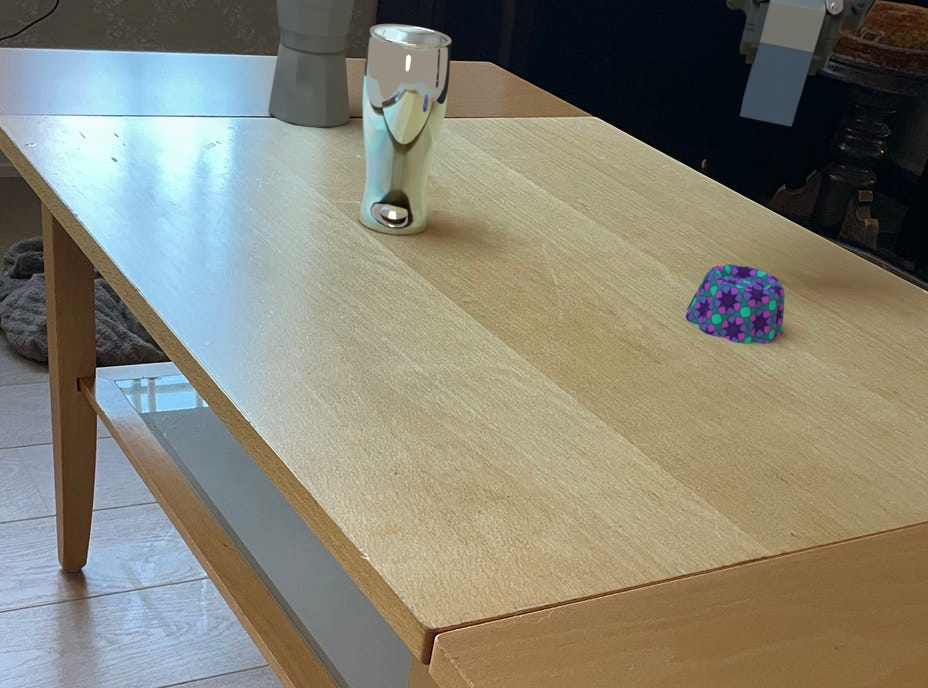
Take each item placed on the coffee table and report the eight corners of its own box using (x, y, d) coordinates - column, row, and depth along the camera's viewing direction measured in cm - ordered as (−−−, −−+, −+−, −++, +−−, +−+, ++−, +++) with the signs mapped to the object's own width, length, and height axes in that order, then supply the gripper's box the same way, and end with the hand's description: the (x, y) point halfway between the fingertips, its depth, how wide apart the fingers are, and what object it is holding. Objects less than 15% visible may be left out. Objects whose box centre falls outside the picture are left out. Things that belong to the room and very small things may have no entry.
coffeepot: (374, 133, 121) (390, -65, 110) (290, 134, 117) (298, -71, 106) (319, 91, 132) (328, -94, 120) (239, 90, 128) (242, -101, 116)
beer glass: (339, 209, 102) (352, 21, 93) (410, 206, 105) (429, 24, 96) (373, 239, 98) (390, 44, 88) (445, 235, 101) (469, 46, 91)
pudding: (666, 298, 96) (682, 235, 92) (810, 334, 93) (832, 271, 90) (637, 351, 86) (653, 283, 83) (795, 393, 84) (819, 324, 81)
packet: (792, 109, 93) (825, -2, 88) (791, 126, 89) (826, 10, 84) (743, 99, 94) (772, -12, 89) (739, 116, 89) (771, 0, 84)
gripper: (909, -86, 92) (862, 110, 90) (732, -117, 94) (682, 75, 92) (941, -164, 85) (891, 48, 83) (748, -196, 86) (694, 12, 84)
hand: (781, 61), depth 87 cm, fingers closed on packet, 4 cm apart
